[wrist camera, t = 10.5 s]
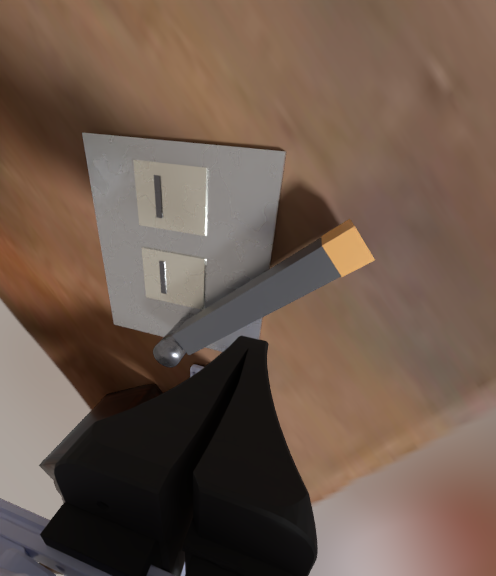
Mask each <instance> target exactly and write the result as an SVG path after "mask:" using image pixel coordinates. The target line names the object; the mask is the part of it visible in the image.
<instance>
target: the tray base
mask: <svg viewBox="0 0 496 576" xmlns="http://www.w3.org/2000/svg"><path fill="white" fill-rule="evenodd" d="M82 136H83V142H84V148H85V154H86V160H87V166H88V172H89V178H90V184H91V190H92V196H93V202H94V208H95V214H96V220H97V226H98V232H99V238H100V244H101V250H102V256H103V262H104V268H105V274H106V280H107V286H108V292H109V298H110V304H111V310H112V316H113V322H114V325H118V326H122V327H126V328H130V329H134V330H138V331H142V332H146V333H150V334H154V335H158V336H162V337H164V338H163V339H162V340H161V341H160V342H159V343H158V344H157V345H156V346H155V347H154V349H153V354H154V357H155V359H156V360H157V361H158V362H159V363H160V364H162V365H163V366H166V367H175V366H176V365H177V364H178V363H179V362H180V360H181V359H182V358H183V356H184V355H185V353H186V351H185V350H184V349H183V348H182V347H181V346H180V344H179V343H178V342H177V341H176V340H175V339H174V338H173V336H172V335H173V334H174V333H175V332H176V331H177V330H178V329H179V328H180V326H181V325H182V324H183V323H184V322H185V321H186V320H188V319H189V318H191V317H192V316H194V315H196V314H197V313H199V312H201V311H202V310H204V309H205V308H207V307H209V306H210V305H212V304H214V303H215V302H217V301H218V300H220V299H222V298H223V297H225V296H227V295H228V294H230V293H232V292H233V291H235V290H236V289H238V288H240V287H241V286H243V285H245V284H246V283H248V282H249V281H251V280H253V279H254V278H256V277H258V276H259V275H261V274H262V273H264V272H266V271H267V270H269V269H270V263H271V256H272V249H273V242H274V235H275V228H276V221H277V214H278V208H279V201H280V194H281V187H282V180H283V173H284V166H285V159H286V152H285V151H274V150H264V149H253V148H242V147H232V146H221V145H210V144H199V143H189V142H178V141H167V140H157V139H146V138H135V137H124V136H114V135H103V134H92V133H82ZM262 319H263V317H262V318H260V319H258V320H256V321H254V322H252V323H250V324H248V325H247V326H245V327H243V328H241V329H239V330H237V331H235V332H233V333H231V334H229V335H227V336H225V337H223V338H222V339H220V340H218V341H216V342H214V343H212V344H210V345H208V346H206V348H210V349H214V350H218V351H222V352H223V351H225V350H226V349H227V348H228V347H229V346H230V345H231V344H232V343H233V342H234V341H235V340H236V339H237V338H238V337H239V336H241V335H242V336H246V337H250V338H254V339H259V340H260V333H261V326H262Z"/></svg>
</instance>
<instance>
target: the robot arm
mask: <svg viewBox="0 0 496 576" xmlns="http://www.w3.org/2000/svg"><path fill="white" fill-rule="evenodd" d="M267 350H268V343H267V341H263V340H259V339H254V338H250V337H246V336H242V335H241V336H239V337H238V338H237V339H236V340H235V341H234V342H233V343H232V344H231V345H230V346H229V347H228V348H227V349H226V350H225V351H223V352H222V353H221V354H220V355H219V356H218V357H217V358H215V359H214V360H213V361H212V362H211V363H209V364H208V365H207V366H205V367H203V366H199V365H195V364H194V365H192V366H191V368H190V378H189V379H187V380H185V381H184V382H182V383H181V384H179V385H177V386H176V387H174V388H172V389H170V390H169V391H167V392H165V393H163V394H161V395H159V396H157V397H155V398H153V399H151V400H149V401H147V402H145V403H142V404H140V405H138V406H136V407H134V408H131V409H129V410H126V411H124V412H121V413H118V414H115V415H113V416H110V417H107V418H105V419H102V420H99V421H96V422H94V423H93V424H92V425H91V426H90V427H89V428H88V429H87V430H86V431H85V432H84V433H83V434H82V435H81V436H80V437H79V438H78V439H77V441H76V442H75V443H74V444H73V445H72V446H71V447H70V448H69V449H68V451H67V452H66V453H65V454H64V455H63V456H62V457H61V458H60V459H59V461H58V462H57V463H56V464H55V468H54V475H55V479H56V481H57V484H58V486H59V488H60V491H61V493H62V495H63V498H64V500H65V502H64V504H63V505H62V506H61V508H60V509H59V510H58V511H57V513H56V514H55V515H54V517H53V518H52V519H51V520H48V519H46V518H44V517H41V516H39V515H37V514H35V513H32V512H30V511H28V510H25V509H23V508H21V507H19V506H17V505H14V504H12V503H10V502H7V501H5V500H3V499H1V498H0V576H56V575H55V574H54V573H52V572H51V571H50V570H48V569H47V568H45V567H44V566H42V565H41V564H43V565H45V566H47V567H49V568H51V569H53V570H56V571H58V572H60V573H62V574H64V576H308V575H309V573H310V571H311V569H312V567H313V565H314V563H315V561H316V558H317V536H316V528H315V522H314V516H313V511H312V506H311V502H310V497H309V493H308V491H307V489H306V487H305V485H304V483H303V481H302V479H301V476H300V474H299V472H298V470H297V468H296V465H295V463H294V461H293V458H292V456H291V454H290V451H289V449H288V446H287V443H286V441H285V438H284V435H283V432H282V430H281V427H280V424H279V421H278V417H277V414H276V411H275V407H274V403H273V399H272V394H271V389H270V384H269V378H268V369H267ZM36 561H37V562H36ZM38 562H39V563H41V564H39V563H38Z"/></svg>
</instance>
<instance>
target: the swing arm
mask: <svg viewBox="0 0 496 576" xmlns="http://www.w3.org/2000/svg"><path fill="white" fill-rule="evenodd" d="M374 260H375V259H374V258H373V256H372V254H371V253H370V251H369V249H368V248H367V246H366V244H365V243H364V241H363V239H362V238H361V236H360V234H359V233H358V231H357V229H356V228H355V226H354V224H353V223H352V222H351V220H350V219H349V220H347V221H345V222H344V223H342V224H340V225H339V226H337V227H336V228H334V229H332V230H331V231H329V232H327V233H326V234H324V235H323V236H321V238H319V239H318V240H316V241H315V242H313V243H311V244H310V245H308V246H306V247H305V248H303V249H302V250H300V251H298V252H297V253H295V254H293V255H292V256H290V257H288V258H287V259H285V260H284V261H282V262H280V263H279V264H277V265H275V266H274V267H272V268H271V269H269V270H267V271H266V272H264V273H262V274H261V275H259V276H258V277H256V278H254V279H253V280H251V281H249V282H248V283H246V284H245V285H243V286H241V287H240V288H238V289H236V290H235V291H233V292H232V293H230V294H228V295H227V296H225V297H223V298H222V299H220V300H218V301H217V302H215V303H214V304H212V305H210V306H209V307H207V308H205V309H204V310H202V311H201V312H199V313H197V314H196V315H194V316H192V317H191V318H189V319H188V320H186V321H185V322H184V323H183V324H182V325H181V326H180V328H179V329H178V330H177V331H176V332H175V333H174V334H173V335H172V336H173V338H174V339H175V340H176V341H177V342H178V343H179V344H180V346H181V347H182V348H183V349H184V350H185V351H186V353H187V354H188V355H191V354H193V353H195V352H197V351H198V350H200V349H202V348H204V347H206V346H208V345H210V344H212V343H214V342H216V341H218V340H220V339H222V338H223V337H225V336H227V335H229V334H231V333H233V332H235V331H237V330H239V329H241V328H243V327H245V326H247V325H248V324H250V323H252V322H254V321H256V320H258V319H260V318H262V317H264V316H266V315H268V314H270V313H272V312H273V311H275V310H277V309H279V308H281V307H283V306H285V305H287V304H289V303H291V302H293V301H295V300H297V299H298V298H300V297H302V296H304V295H306V294H308V293H310V292H312V291H314V290H316V289H318V288H320V287H322V286H323V285H325V284H327V283H329V282H331V281H333V280H335V279H337V278H339V277H341V276H342V277H343V276H345V275H347V274H349V273H351V272H353V271H355V270H357V269H359V268H361V267H362V266H364V265H366V264H368V263H370V262H372V261H374Z"/></svg>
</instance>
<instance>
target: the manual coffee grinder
mask: <svg viewBox="0 0 496 576" xmlns="http://www.w3.org/2000/svg"><path fill="white" fill-rule="evenodd" d="M161 394H163V393H162V392H161V390H160V389H159V388H158V387H157V385H156V384H150V385H143V386H139V387H135V388H130V389H126V390H122V391H118V392H114V393H111V394H107V395H106V396H105V397H104V398H103V399H102V400H101V401H100V402H99V403H98V404H97V405H96V406H95V407H94V409H93V410H92V411H91V412H90V413H89V414H88V415H87V416H86V417H85V418H84V419H83V420H82V421H81V422H80V423H79V424H78V425H77V426H76V427H75V428H74V429H73V430H72V431H71V432H70V433H69V434H68V435H67V436H66V438H65V439H64V440H63V441H62V442H61V443H60V444H59V445H58V446H57V447H56V448H55V449H54V450H53V451H52V452H51V454H49V455H48V457H46V459H44V460H43V461H42V463H41V464H40V465H39V466H40V467H41V468H42V469H43V470H44V471H45V472H46V473H47V474H48V475H49V476H50V477H51V478H52V479H53V480H54V484H55V487H56V489H57V491H58V492H59V493H60V495H61V496H62V500H63V503H64V502H65V500H64V498H63V495H62V493H61V491H60V488H59V486H58V484H57V481H56V479H55V475H54V468H55V464H56V463H57V462H58V461H59V459H60V458H61V457H62V456H63V455H64V454H65V453H66V452H67V451H68V449H69V448H70V447H71V446H72V445H73V444H74V443H75V442H76V441H77V439H78V438H79V437H80V436H81V435H82V434H83V433H84V432H85V431H86V430H87V429H88V428H89V427H90V426H91V425H92V424H93V423H94V422H96V421H99V420H102V419H105V418H107V417H110V416H113V415H115V414H118V413H121V412H124V411H126V410H129V409H131V408H134V407H136V406H138V405H140V404H142V403H145V402H147V401H149V400H151V399H153V398H155V397H157V396H159V395H161ZM39 564H41V563H39ZM41 565H42V566H44V567H45V568H47V569H48V570H50V571H51V572H52V573H54V574H62V573H60V572H58V571H56V570H53V569H51V568H49V567H47V566H45V565H43V564H41ZM62 575H64V574H62Z"/></svg>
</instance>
